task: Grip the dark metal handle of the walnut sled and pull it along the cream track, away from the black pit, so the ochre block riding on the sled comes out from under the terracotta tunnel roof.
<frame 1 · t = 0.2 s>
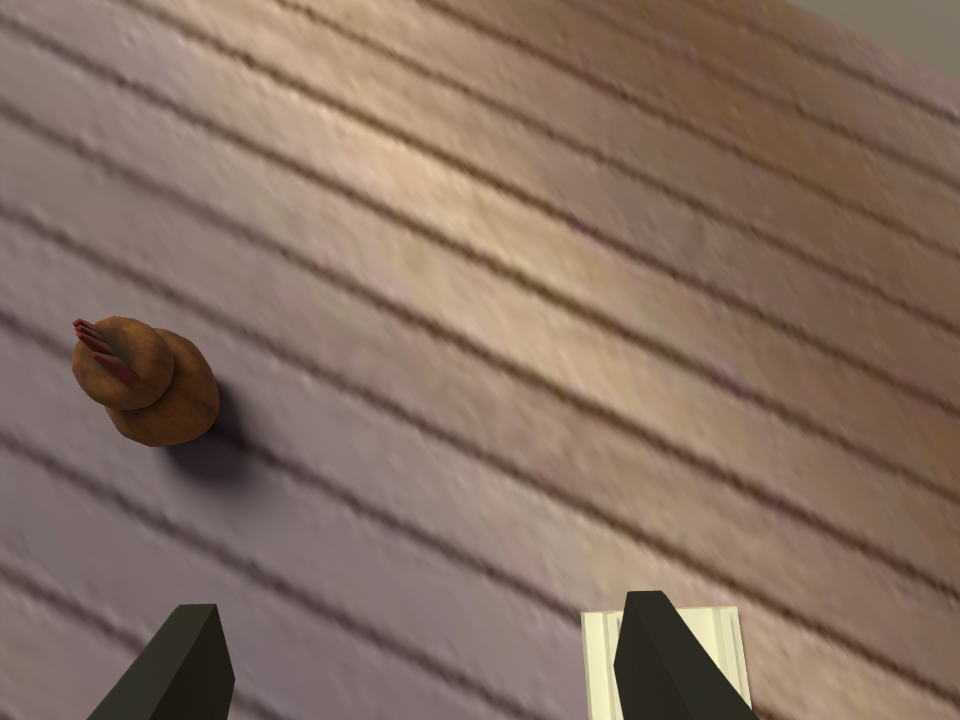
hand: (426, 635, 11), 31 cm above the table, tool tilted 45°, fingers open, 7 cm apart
wooden figurine: (186, 406, 43), on the table
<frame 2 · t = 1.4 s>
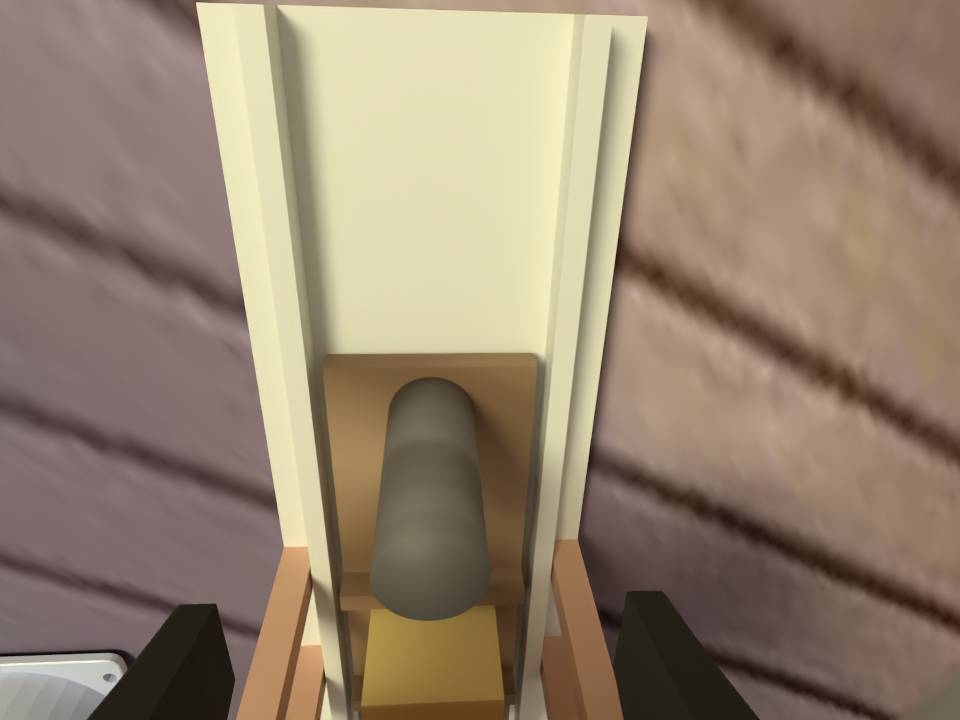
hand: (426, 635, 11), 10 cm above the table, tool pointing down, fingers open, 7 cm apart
block: (433, 629, 22), point 2 cm above the table, touching sled
track: (433, 582, 24), on the table
sled: (433, 652, 19), point 5 cm above the table, slide at 0.0 cm, touching block
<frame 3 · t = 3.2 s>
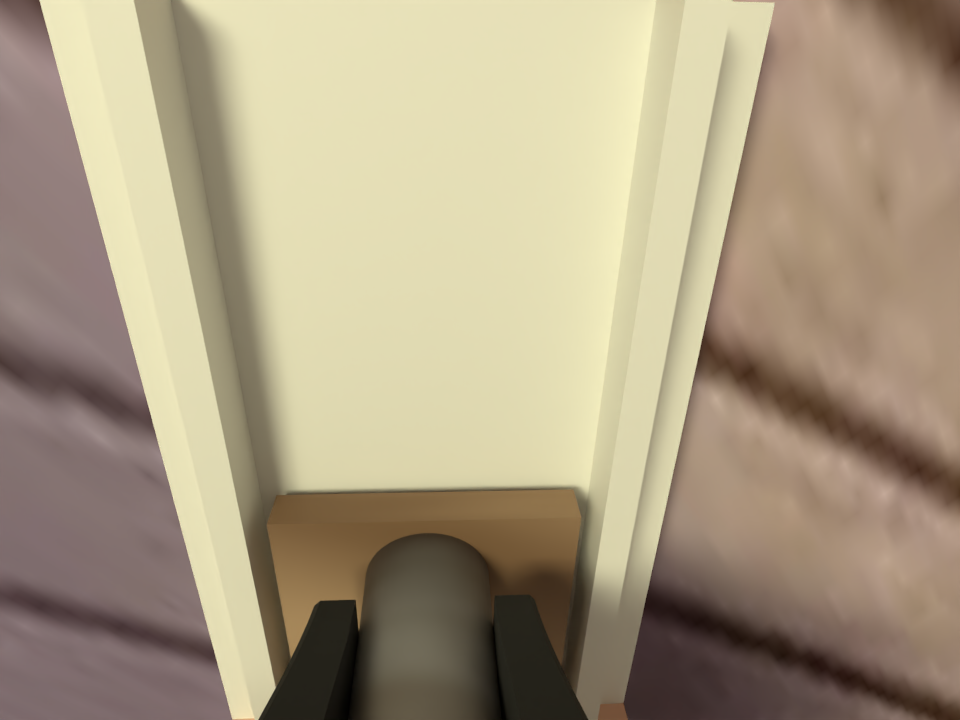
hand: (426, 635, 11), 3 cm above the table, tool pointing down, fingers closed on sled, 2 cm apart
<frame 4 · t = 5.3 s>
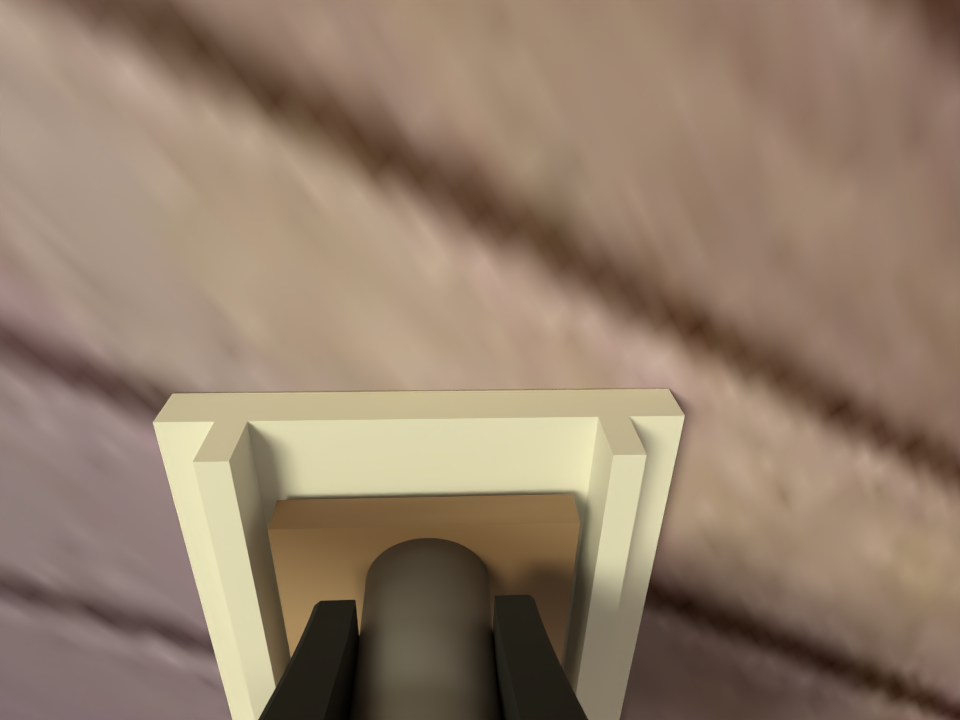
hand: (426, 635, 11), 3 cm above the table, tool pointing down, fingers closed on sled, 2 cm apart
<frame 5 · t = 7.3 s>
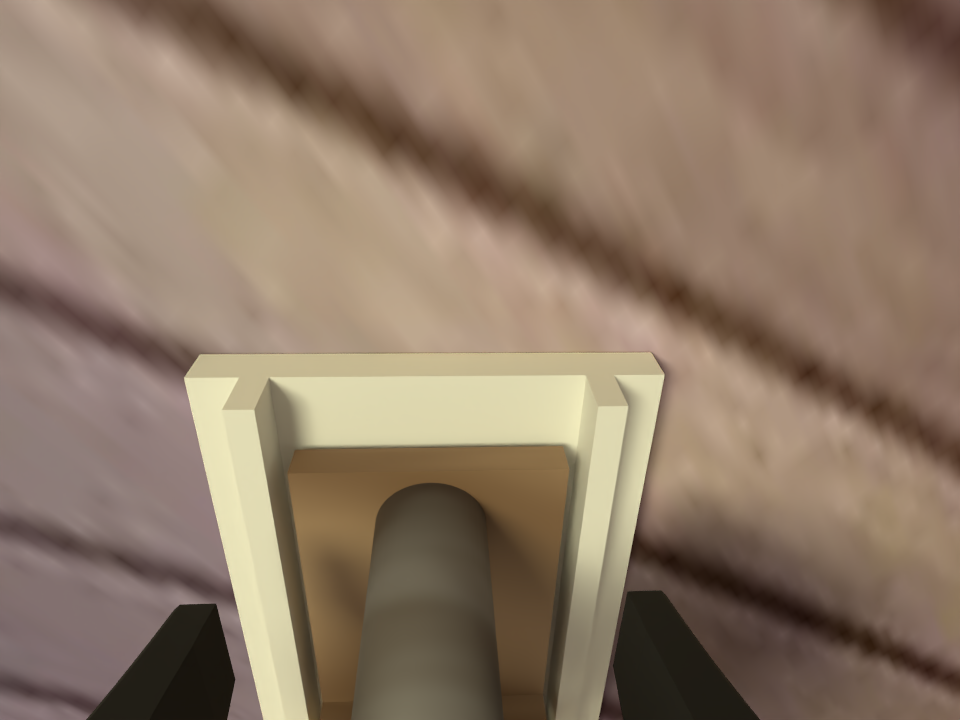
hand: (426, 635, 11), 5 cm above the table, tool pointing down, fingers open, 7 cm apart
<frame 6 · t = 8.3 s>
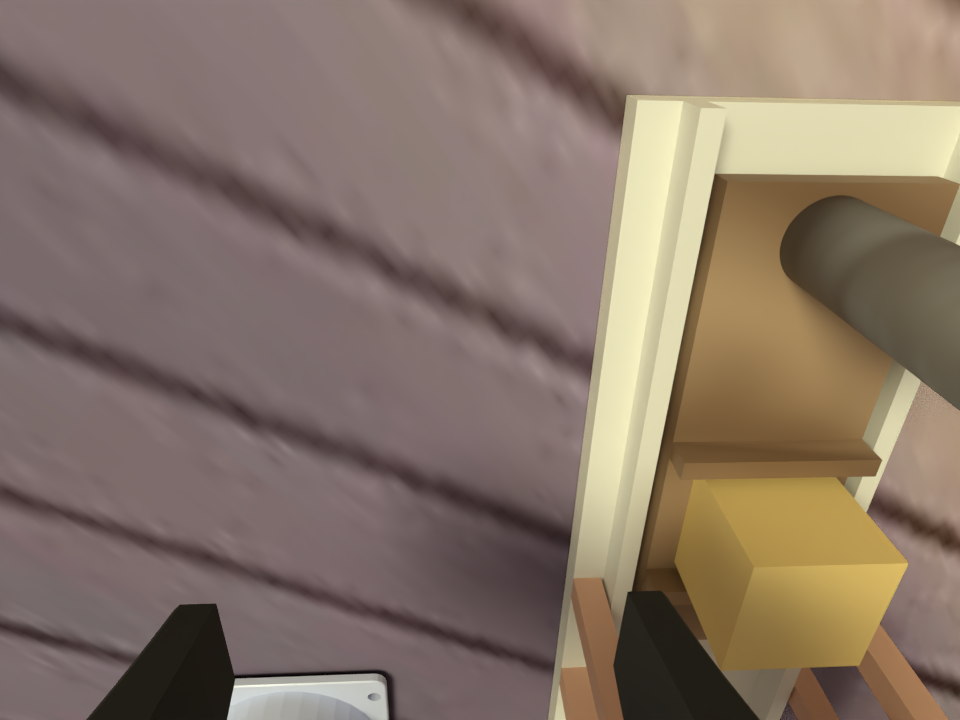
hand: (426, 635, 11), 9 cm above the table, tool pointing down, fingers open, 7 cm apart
block: (746, 514, 20), point 2 cm above the table, touching sled
track: (685, 608, 26), on the table
sled: (806, 518, 17), point 5 cm above the table, slide at 6.9 cm, touching block
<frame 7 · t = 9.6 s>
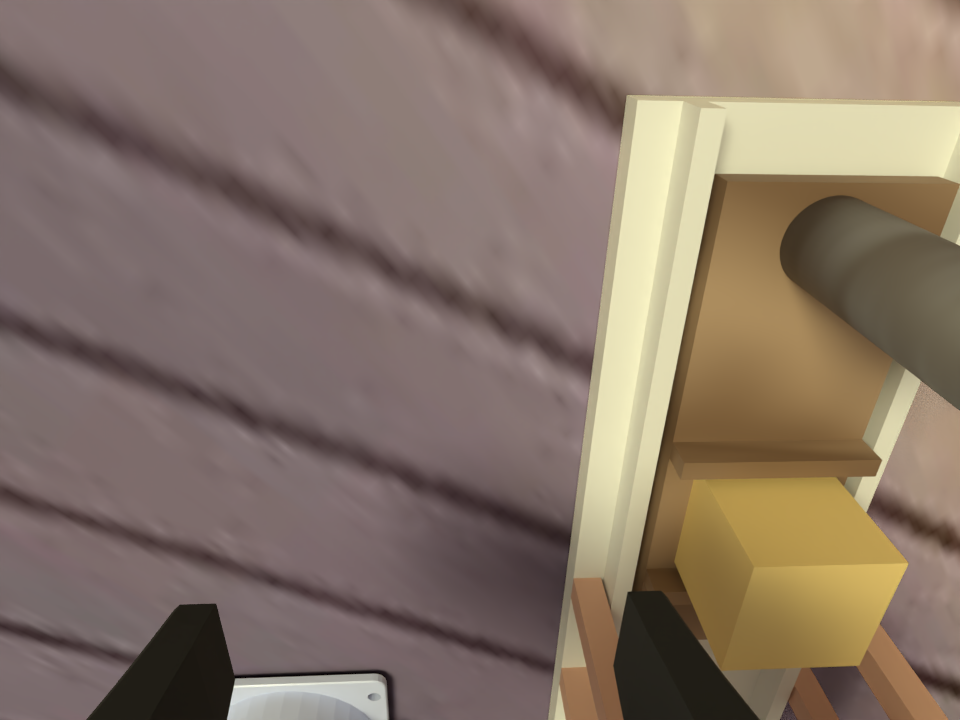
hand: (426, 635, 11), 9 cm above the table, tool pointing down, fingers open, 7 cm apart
block: (746, 514, 20), point 2 cm above the table, touching sled
track: (685, 608, 26), on the table
sled: (806, 518, 17), point 5 cm above the table, slide at 6.9 cm, touching block
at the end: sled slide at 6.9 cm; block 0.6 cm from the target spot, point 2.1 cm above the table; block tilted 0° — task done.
